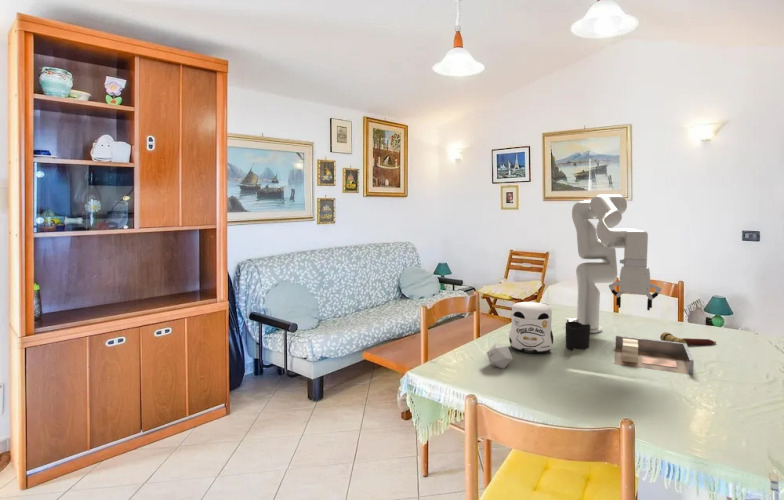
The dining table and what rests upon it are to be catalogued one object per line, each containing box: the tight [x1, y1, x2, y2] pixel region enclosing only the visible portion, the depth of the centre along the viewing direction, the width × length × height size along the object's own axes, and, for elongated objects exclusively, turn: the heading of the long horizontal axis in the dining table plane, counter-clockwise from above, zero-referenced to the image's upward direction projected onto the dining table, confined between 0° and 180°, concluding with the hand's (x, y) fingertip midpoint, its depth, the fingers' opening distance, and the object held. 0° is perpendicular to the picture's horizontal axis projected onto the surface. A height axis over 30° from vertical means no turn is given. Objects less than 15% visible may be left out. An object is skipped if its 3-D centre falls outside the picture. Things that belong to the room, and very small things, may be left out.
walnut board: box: [614, 348, 693, 376], centre depth 167 cm, size 24×20×1 cm
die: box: [486, 343, 513, 369], centre depth 166 cm, size 8×9×10 cm
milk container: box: [508, 301, 554, 354], centre depth 183 cm, size 17×17×18 cm
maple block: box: [622, 338, 638, 363], centre depth 169 cm, size 9×5×6 cm, turn 153°
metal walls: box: [614, 335, 695, 376], centre depth 167 cm, size 24×20×5 cm
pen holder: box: [565, 321, 591, 351], centre depth 184 cm, size 9×9×10 cm
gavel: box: [659, 331, 717, 346], centre depth 186 cm, size 21×5×10 cm
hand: (633, 308), depth 168 cm, fingers open, 9 cm apart
